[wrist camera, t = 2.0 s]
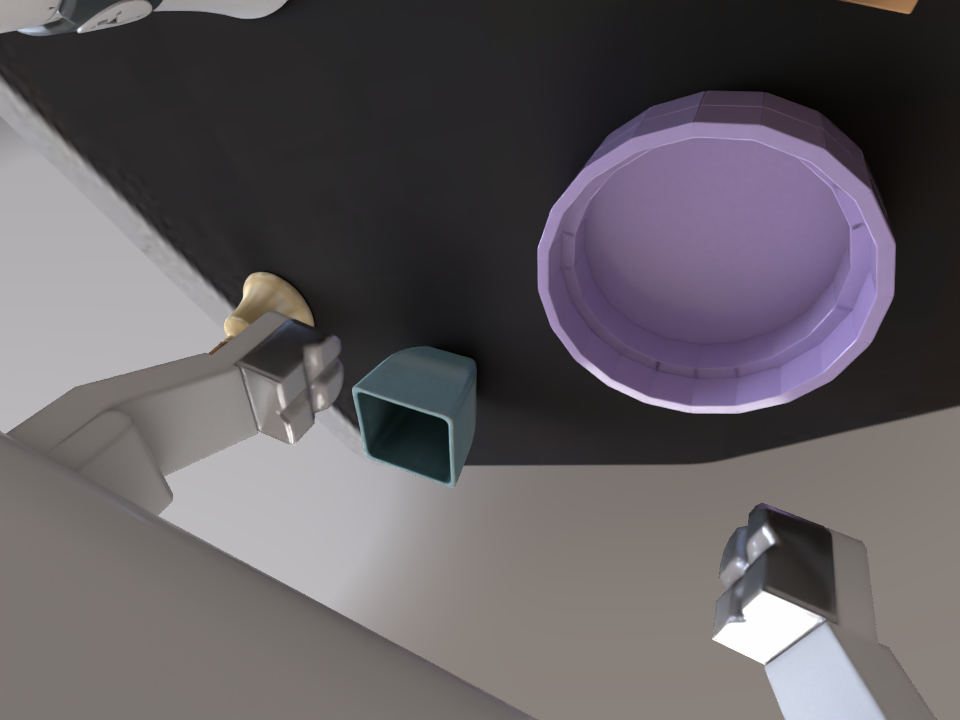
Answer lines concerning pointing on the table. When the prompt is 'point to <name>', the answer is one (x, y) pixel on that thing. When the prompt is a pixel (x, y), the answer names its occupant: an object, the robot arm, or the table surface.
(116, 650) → the robot arm
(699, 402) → the bowl
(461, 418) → the flower pot
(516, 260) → the table surface
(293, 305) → the hand bell
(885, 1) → the brush
